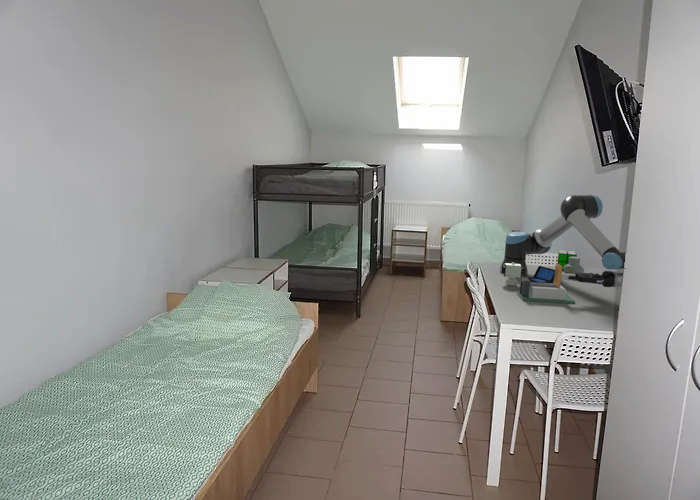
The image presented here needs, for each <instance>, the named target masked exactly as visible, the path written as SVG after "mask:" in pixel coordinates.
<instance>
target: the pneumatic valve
mask: <svg viewBox="0 0 700 500" xmlns="http://www.w3.org/2000/svg"><path fill="white" fill-rule="evenodd" d="M500 267H501V270H500V269H499V273H500V274H501V275H502V276H503V277H504V278H505V277H506V279H505V283H506V285H508V286H510V287H511V286H512V287H513V286H516V285H517V284H518V280H517V279H516V278H519V279H521V278H523V276H522V275H524V274H525V267H523V266H522V264H514V262H512V264H510V263H504V265H502V264H501V265H500Z"/></svg>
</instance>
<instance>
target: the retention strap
mask: <svg viewBox="0 0 700 500" xmlns="http://www.w3.org/2000/svg"><path fill="white" fill-rule="evenodd" d="M554 270H555V276H554V280H553V283H537V282H530V285H535V286H554V287H560V285H561V282H562V280H561V275H562V274H563V273H562V272H563V270H562V266H561V265H560V264H557V263H556V264H555V268H554Z"/></svg>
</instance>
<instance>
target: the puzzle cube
mask: <svg viewBox="0 0 700 500" xmlns="http://www.w3.org/2000/svg"><path fill="white" fill-rule="evenodd" d="M569 257H578V255H577V251H572V250H571V251H569V250H560V249H559V250H558V253H557V259H556V264H560V265H561V266H562V269H563V268H564V266H565V265H567V264H569Z"/></svg>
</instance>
